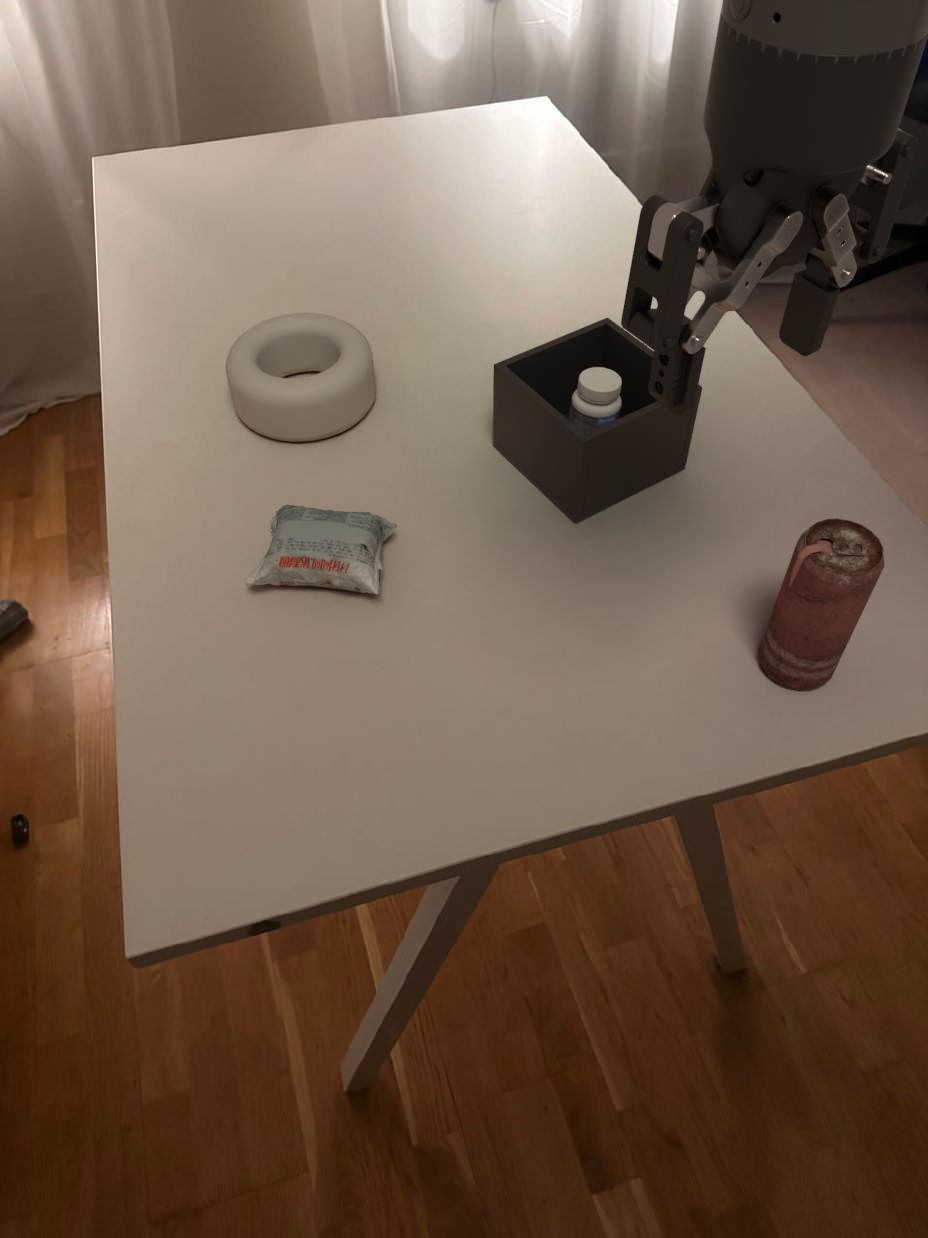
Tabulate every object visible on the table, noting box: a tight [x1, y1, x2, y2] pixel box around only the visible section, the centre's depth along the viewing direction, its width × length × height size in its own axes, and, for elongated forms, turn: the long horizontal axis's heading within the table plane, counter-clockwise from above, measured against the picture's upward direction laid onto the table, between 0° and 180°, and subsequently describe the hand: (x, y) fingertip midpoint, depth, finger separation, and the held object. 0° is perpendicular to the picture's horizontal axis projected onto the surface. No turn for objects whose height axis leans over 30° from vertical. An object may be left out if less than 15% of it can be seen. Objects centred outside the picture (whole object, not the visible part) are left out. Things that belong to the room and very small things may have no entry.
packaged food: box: [245, 504, 398, 595], centre depth 84 cm, size 9×12×5 cm
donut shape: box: [225, 312, 377, 443], centre depth 99 cm, size 15×15×7 cm
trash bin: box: [492, 317, 703, 524], centre depth 91 cm, size 14×14×10 cm
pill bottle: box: [568, 367, 622, 435], centre depth 91 cm, size 5×5×8 cm
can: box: [757, 518, 885, 691], centre depth 73 cm, size 6×6×14 cm
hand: (736, 375), depth 48 cm, fingers open, 8 cm apart
